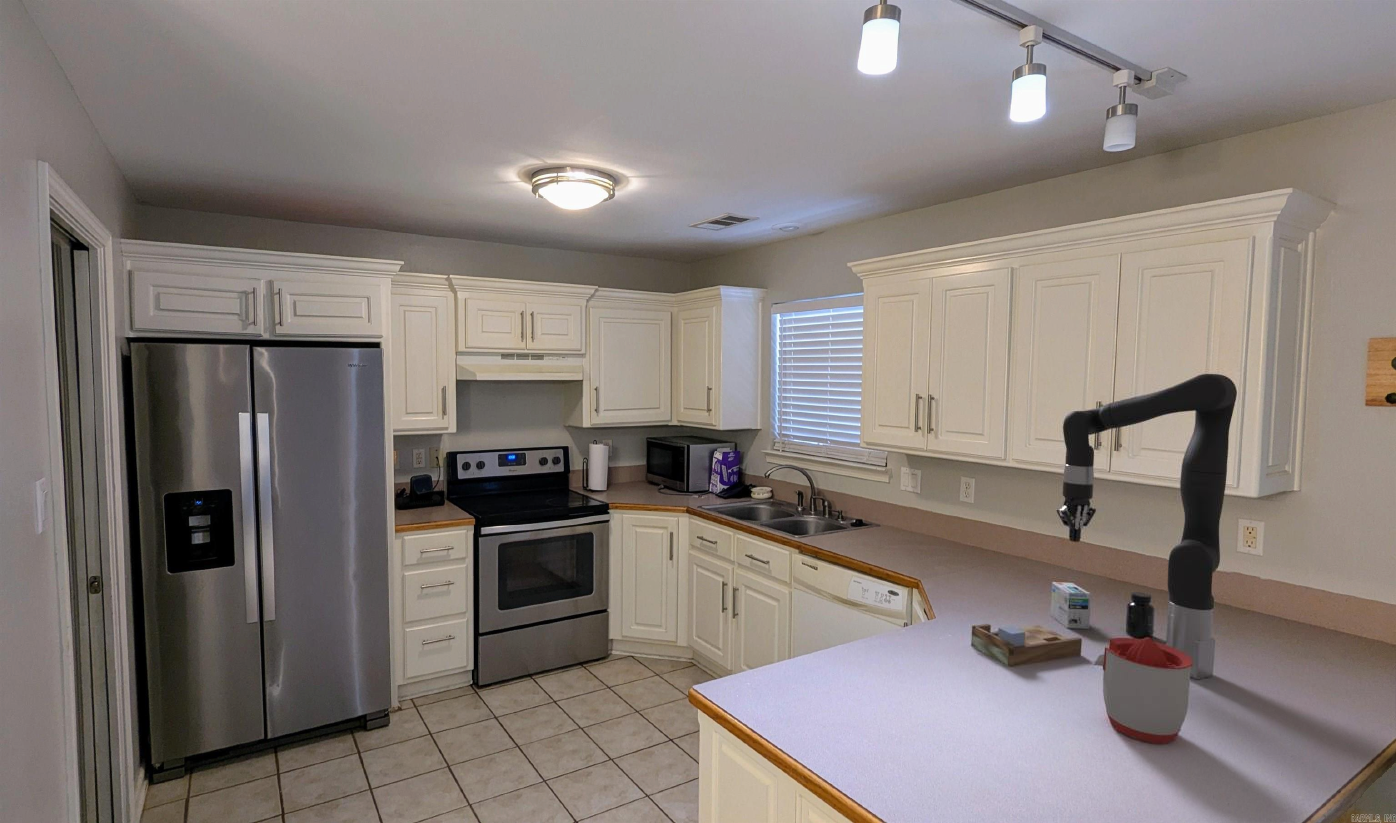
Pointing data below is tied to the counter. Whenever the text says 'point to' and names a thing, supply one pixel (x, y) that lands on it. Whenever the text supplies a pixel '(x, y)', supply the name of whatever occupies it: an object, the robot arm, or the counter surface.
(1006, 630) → the block
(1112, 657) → the citrus juicer
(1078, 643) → the board
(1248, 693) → the counter surface
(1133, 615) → the supplement bottle
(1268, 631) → the counter surface
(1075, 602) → the light bulb box
